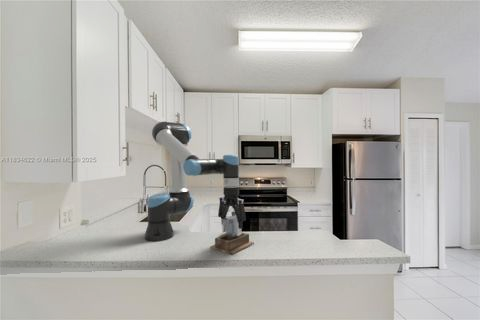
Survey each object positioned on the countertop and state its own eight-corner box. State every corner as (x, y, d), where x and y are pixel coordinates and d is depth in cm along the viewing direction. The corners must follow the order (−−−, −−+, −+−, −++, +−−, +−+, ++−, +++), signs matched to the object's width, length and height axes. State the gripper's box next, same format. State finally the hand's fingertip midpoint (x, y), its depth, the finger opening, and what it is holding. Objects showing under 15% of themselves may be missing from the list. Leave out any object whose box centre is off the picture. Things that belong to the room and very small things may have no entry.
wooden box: (210, 248, 114) (210, 237, 114) (232, 239, 127) (232, 229, 127) (233, 254, 106) (232, 243, 106) (253, 244, 118) (253, 234, 118)
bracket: (223, 246, 114) (222, 218, 114) (235, 241, 121) (234, 215, 121) (229, 248, 112) (228, 220, 112) (241, 242, 119) (240, 216, 119)
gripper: (210, 186, 120) (210, 231, 120) (243, 188, 107) (244, 239, 107) (220, 184, 126) (221, 227, 126) (253, 187, 113) (254, 235, 113)
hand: (231, 233), depth 117 cm, fingers open, 8 cm apart
